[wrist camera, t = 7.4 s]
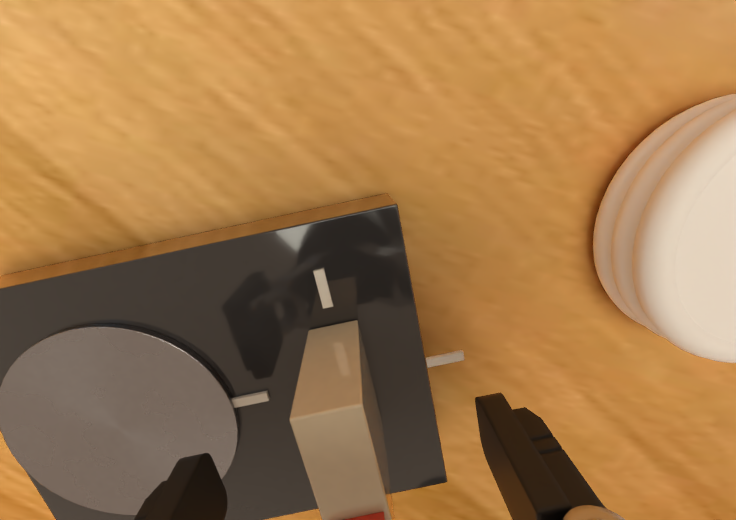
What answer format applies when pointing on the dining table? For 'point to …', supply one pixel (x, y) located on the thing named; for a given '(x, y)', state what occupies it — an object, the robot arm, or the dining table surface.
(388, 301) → the hob
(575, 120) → the dining table surface
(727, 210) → the white short ridged cylinder
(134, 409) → the burner
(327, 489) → the knob
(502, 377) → the dining table surface
